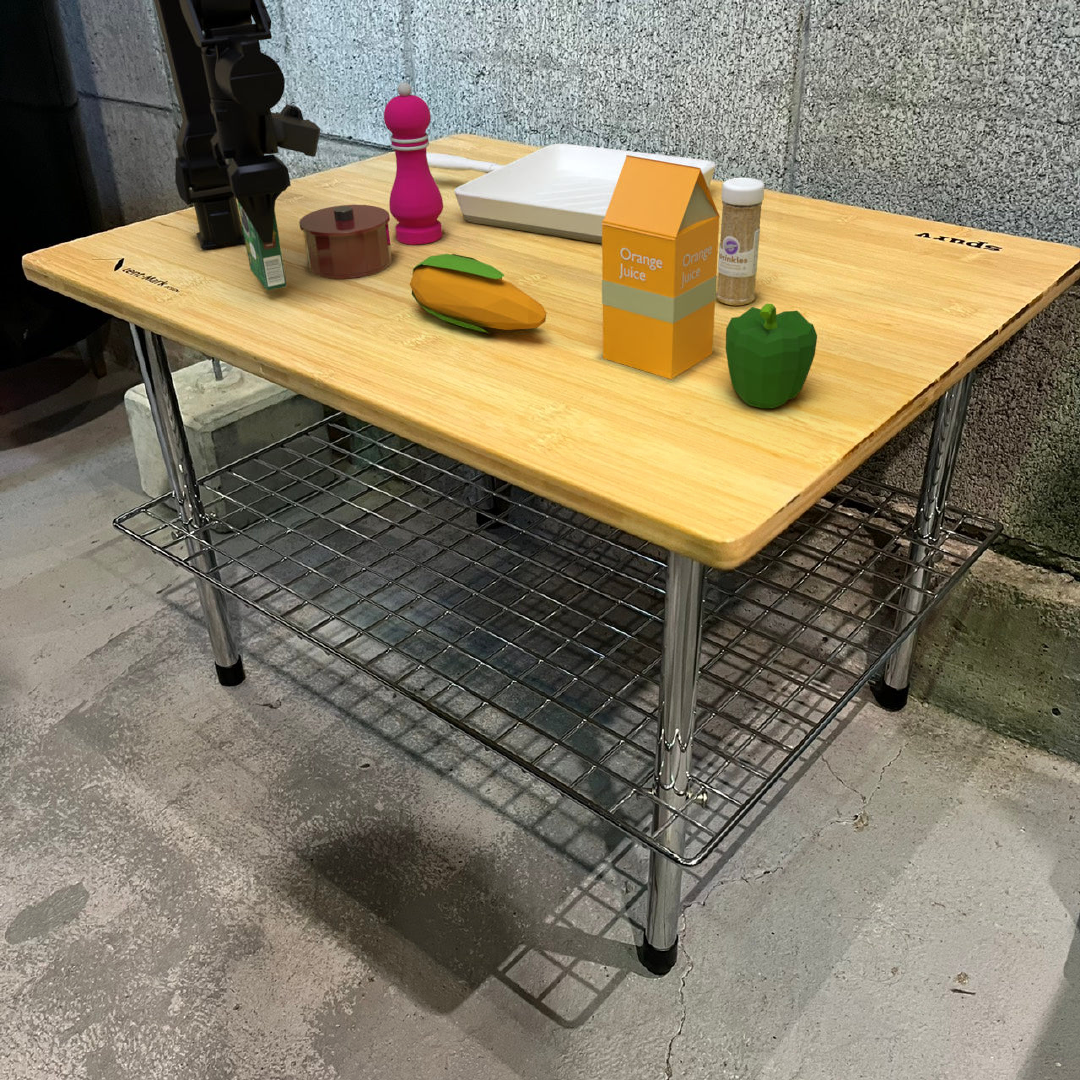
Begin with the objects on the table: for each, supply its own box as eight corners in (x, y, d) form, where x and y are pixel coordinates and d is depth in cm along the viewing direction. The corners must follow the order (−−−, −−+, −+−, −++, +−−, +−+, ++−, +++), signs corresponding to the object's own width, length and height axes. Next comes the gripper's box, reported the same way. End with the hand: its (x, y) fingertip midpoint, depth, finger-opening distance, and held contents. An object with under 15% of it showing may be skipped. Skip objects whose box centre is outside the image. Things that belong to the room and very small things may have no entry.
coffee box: (290, 287, 131) (270, 177, 124) (266, 292, 130) (245, 181, 123) (272, 267, 137) (253, 161, 130) (250, 271, 136) (229, 165, 129)
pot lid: (292, 221, 142) (289, 203, 140) (378, 208, 145) (375, 190, 143) (310, 247, 133) (307, 228, 131) (400, 232, 136) (398, 214, 135)
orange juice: (671, 379, 109) (677, 178, 98) (601, 358, 114) (600, 163, 103) (714, 353, 114) (724, 158, 103) (645, 333, 119) (648, 145, 108)
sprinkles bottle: (711, 304, 125) (717, 186, 118) (721, 290, 129) (727, 174, 121) (751, 308, 124) (759, 189, 116) (759, 294, 127) (768, 177, 120)
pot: (302, 258, 144) (295, 216, 141) (380, 245, 147) (375, 204, 144) (318, 284, 136) (311, 241, 133) (400, 270, 139) (396, 227, 136)
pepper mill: (437, 247, 146) (422, 88, 134) (386, 245, 147) (367, 88, 136) (451, 229, 151) (438, 76, 140) (402, 228, 153) (385, 76, 142)
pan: (628, 253, 140) (628, 215, 138) (360, 209, 161) (355, 175, 158) (720, 193, 160) (721, 159, 157) (470, 161, 181) (468, 130, 178)
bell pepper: (756, 370, 110) (764, 275, 105) (825, 395, 105) (836, 296, 100) (703, 398, 106) (707, 300, 100) (772, 425, 101) (781, 324, 95)
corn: (435, 233, 126) (568, 268, 115) (445, 294, 131) (573, 333, 120) (389, 255, 122) (521, 294, 111) (400, 318, 127) (528, 361, 115)
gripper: (325, 102, 117) (345, 245, 125) (292, 71, 131) (313, 201, 140) (219, 115, 113) (248, 260, 122) (198, 82, 128) (225, 214, 137)
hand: (262, 232), depth 130 cm, fingers closed on coffee box, 8 cm apart
